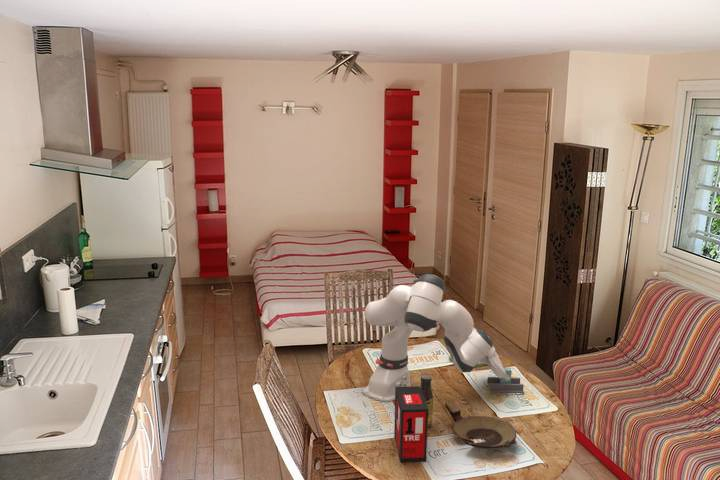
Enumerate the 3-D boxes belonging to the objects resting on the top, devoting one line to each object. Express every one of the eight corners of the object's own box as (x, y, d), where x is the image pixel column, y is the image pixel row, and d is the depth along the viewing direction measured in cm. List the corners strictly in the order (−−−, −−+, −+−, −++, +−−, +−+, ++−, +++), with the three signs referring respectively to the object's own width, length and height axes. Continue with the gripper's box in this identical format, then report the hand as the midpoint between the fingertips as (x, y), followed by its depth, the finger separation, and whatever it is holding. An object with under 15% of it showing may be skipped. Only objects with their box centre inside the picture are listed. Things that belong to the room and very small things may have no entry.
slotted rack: (490, 393, 253) (491, 385, 252) (486, 382, 263) (487, 375, 262) (523, 394, 253) (524, 386, 252) (518, 383, 262) (519, 376, 262)
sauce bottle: (427, 431, 224) (429, 382, 219) (412, 426, 227) (414, 378, 223) (435, 423, 229) (436, 375, 225) (420, 418, 233) (422, 371, 228)
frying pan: (474, 466, 203) (475, 446, 201) (434, 422, 230) (435, 404, 229) (529, 454, 210) (531, 434, 208) (484, 412, 238) (485, 395, 236)
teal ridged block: (501, 387, 256) (502, 370, 254) (499, 384, 259) (500, 367, 257) (510, 387, 256) (511, 370, 254) (508, 384, 259) (510, 367, 257)
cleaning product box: (394, 436, 220) (395, 386, 216) (417, 435, 221) (419, 386, 216) (400, 462, 204) (402, 410, 200) (426, 461, 205) (428, 409, 200)
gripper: (494, 357, 244) (517, 380, 246) (486, 338, 264) (507, 359, 266) (483, 367, 245) (505, 390, 247) (475, 347, 265) (496, 368, 267)
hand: (506, 374), depth 256 cm, fingers open, 8 cm apart
